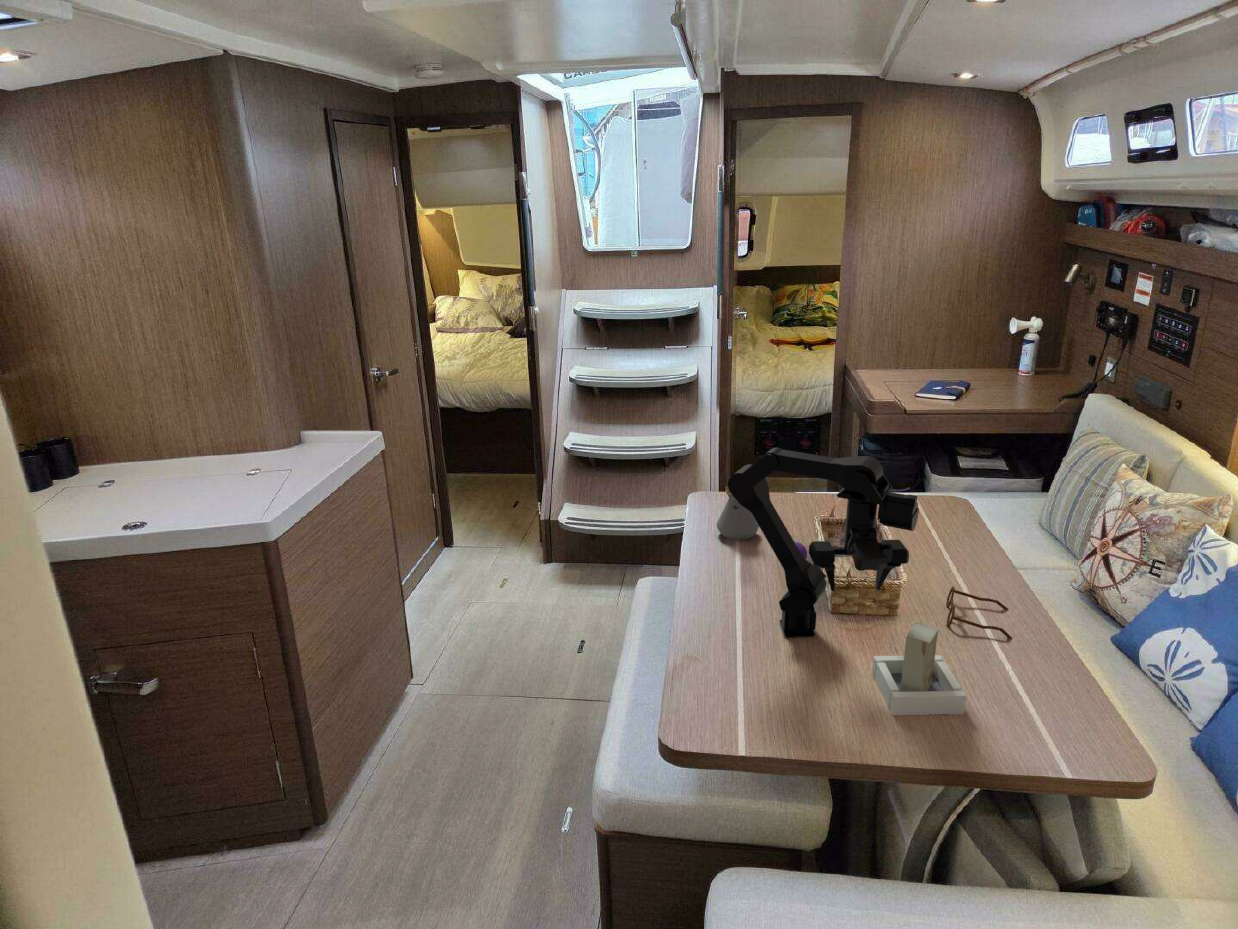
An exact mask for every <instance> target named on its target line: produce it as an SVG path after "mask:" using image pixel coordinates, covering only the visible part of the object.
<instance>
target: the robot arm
mask: <svg viewBox="0 0 1238 929" xmlns="http://www.w3.org/2000/svg"><path fill="white" fill-rule="evenodd" d="M773 472H781V473H785V474H791V475H792V474H793V475H798V476H803V477H804V476H805V477H808V478H815V479H822V480H826V481H830V482H833V483H835V484H837V485H838V486H840V487H841V489H840V491H838V493H837V494H836V497H837V498H840V499H845V500H847V502H846V512H845V513H846V514H845V516H846V517H845V519H844V521H843V522H844V525H845V527H844V537H842V544H843V546H839V547H838V546H835V547H833V546H832V544H831V543H830V541H829V540H824V541H823V540H822V541H817V540H816V541H814V540H813V541H812V542H811V543H809V545H808V555H809V557H810V558H811V561H812V563H811V562H810V561H808V560H807V558H806V559H804V557H803V556H802V554H801V553H800V551H799V549H798V547H797V546H796V544H795V542H796V541H794V539H793V537H792V536H791V534H790V532H789V530H788V529H787V527H786V525H785V523H784V522H783V520H782V518H781V517H780V514H779V513H778V512H777V509H776V508H775V506H774V504H773V502H772V500H771V497H770V496H771V495H770V488H769V484H768V481H767V478H766V477H768V476H769V475H771V474H772V473H773ZM876 487H877V488H876ZM728 489H729V492H730V493H731V494H732V496H733V497H734V498H735V499H736V501H737V502H738V503H739V504H740V505H741V506H743V507H744V508H746V509H747V510H749V511H750V512H751V513H752V515H753V517H754V518H755V520H756V522H757V524H758V525H759V529H760V530H761V532H762V534H763V536H764V538H765V540H766V541H767V542H768V544H769V546H770V548H771V550H772V551H773V553H774V555H775V556H776V558H777V560H778V562H779V563H780V565H781V567H782V569H783V570H784V577H785V584H786V588H787V591H786V593H785V594H784V595H783V596H782V597H781V599H780V600H779V601H778V604H779V607H780V610H781V619H780V620H779V624H780V627H781V631H782V634H783V636H784V638H812V637H815V636H816V635H815V634H816V633H815V631H814V630H816V626H817V611H816V609H815V606H814V605H815V604H816V603H817V602H818V601H819V599H820V597H821V596H822V595H823V594H824V592H825V591H826V587H827V581H828V584H829V586H830V590H831V591H832V592H834V591H835V586H836V583H835V582H836V581H835V580H836V578H835V570H836V565H835V562H836V561H835V560H836V558H848V557H849V558H852V561H853V563H854V564H853V565H854V568H855V569H856V570H857V571H862V572H863V571H876V572H875V573H876V574H875V588H876V590H877V591H880V589H881V588H882V586H883V585H884V583H885V580H886V579H887V577H888V575H889V573H890V572H891V571H892V570H894V569H895V568H899V567H901V566H902V564H908V563H909V560H910V552H909V549H908V548H907V547H906V546H905V544H904V543H903V541H901V540H900V539H882V540H881V542H879V541H878V533H877V532H878V530H877V529H876V527H877V526H876V524H877V519H878V520H879V524H881V525H882V526H885V527H889V528H894V529H898V530H899V529H900V530H905V531H909V532H912V531H913V532H914V531H915V530H916V526H917V523H918V519H919V518H918V517H919V513H920V508H919V502H918V496H917V495H913V494H902V493H897V492H891V491H892V490H893V486H892V485H891V483H890V482H889V480H888V478H887V477H886V475H885V473H884V467H883V466H882V464H881V462H880V461H879V460H878V459H877V458H876V457H874V456H869V455H862V456H861V455H851V456H846V457H831V456H825V455H820V454H812V453H807V452H806V453H805V452H799V451H794V450H787V449H783V448H780V447H772V448H771V449H769V450H768V451H767V452H766V453H765V454H763V456H762V457H761V458H760V459H759V460H758V461H757V462H755V463H754V464H749V463H748V464H745V465H743V466H742V467H741V468H740V469H738V470H737V471H736V472H734V473H733V474H732V475H731V476H729V478H728V482H727V490H728ZM822 569H824V571H825V573H824V572H823V571H822ZM826 578H827V581H826Z"/></svg>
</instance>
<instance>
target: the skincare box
mask: <svg viewBox="0 0 1238 929" xmlns="http://www.w3.org/2000/svg"><path fill="white" fill-rule="evenodd" d="M938 634H939V629H938V628H936V627H933V626H929V625H926V624H923V623H918V622H916V623H915V624H913V626H912V628H911V629H910V630H909V632H908V633H907V635H906V638H905V647H904V654H903V656H904V662H903V671H902V680H901V688H900V692H926V691H928V690H929V688H930V686H931V683H932V675H933V666H934V659H935V655H936V651H937V650H936V649H937V642H938Z"/></svg>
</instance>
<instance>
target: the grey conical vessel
mask: <svg viewBox="0 0 1238 929" xmlns="http://www.w3.org/2000/svg"><path fill="white" fill-rule="evenodd" d="M725 493H726V495H727V496H728V500H727V502H726V504H725V505H724V508H723V510H722V512H721V513H720V516H719V517H718V520H717V522H716V528H717V530H718V531H719V533H720V534H721V535H723V537H724V538H726V539H727V540H731V541H736V542H737V541H739V542H741V541H746V540H749V539H751V538H752V537H753V536H754V535H755V534H756V533H757V532H758V530H759V529H760V527H759V525H758V524H757V522H756V520H755V518H754V517H753V515H752V513H751V512H750V511H749V510H747V509H746V508H744V507H743V506H741V505H740V504H739V503H738V502H737V501H736V499H735V498H734V497H733V496H732V494H731V493H730V492H729V489H728V488H727V489H726V490H725Z"/></svg>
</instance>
